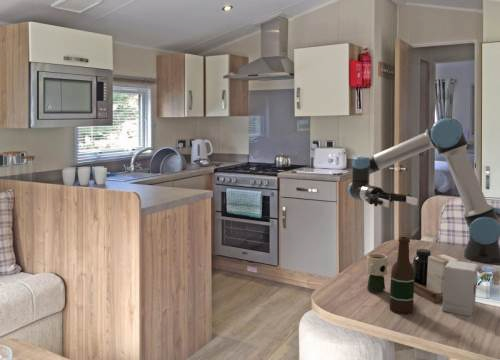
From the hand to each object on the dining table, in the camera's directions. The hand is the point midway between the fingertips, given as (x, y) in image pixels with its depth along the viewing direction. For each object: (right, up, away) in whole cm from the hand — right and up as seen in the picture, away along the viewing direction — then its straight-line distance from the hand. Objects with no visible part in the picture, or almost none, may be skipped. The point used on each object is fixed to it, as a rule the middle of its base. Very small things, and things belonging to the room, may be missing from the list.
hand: (403, 203), depth 194 cm
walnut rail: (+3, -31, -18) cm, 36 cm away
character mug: (-15, -31, -18) cm, 39 cm away
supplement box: (+7, -33, -34) cm, 48 cm away
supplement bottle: (+2, -28, -15) cm, 32 cm away
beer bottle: (-12, -33, -35) cm, 49 cm away
